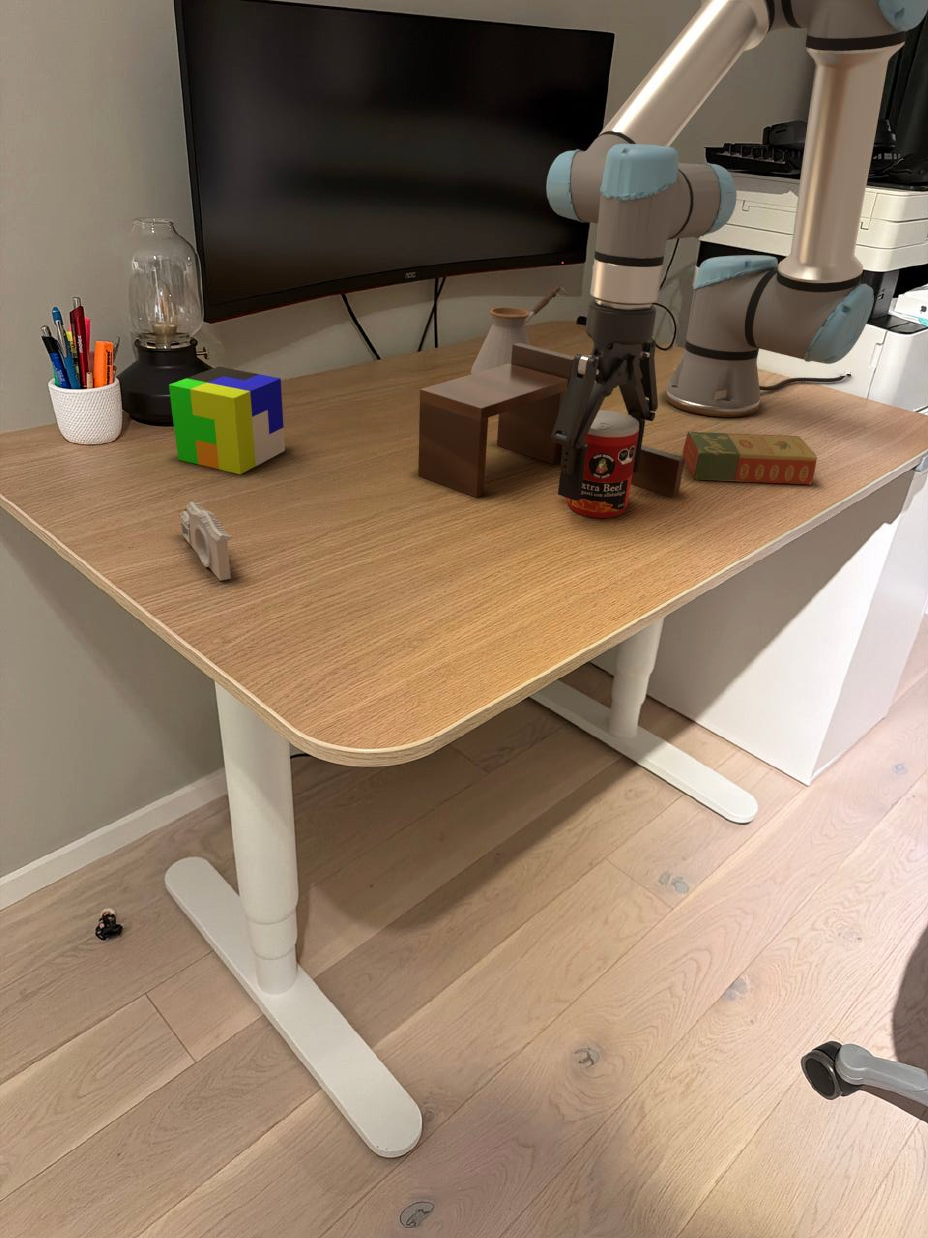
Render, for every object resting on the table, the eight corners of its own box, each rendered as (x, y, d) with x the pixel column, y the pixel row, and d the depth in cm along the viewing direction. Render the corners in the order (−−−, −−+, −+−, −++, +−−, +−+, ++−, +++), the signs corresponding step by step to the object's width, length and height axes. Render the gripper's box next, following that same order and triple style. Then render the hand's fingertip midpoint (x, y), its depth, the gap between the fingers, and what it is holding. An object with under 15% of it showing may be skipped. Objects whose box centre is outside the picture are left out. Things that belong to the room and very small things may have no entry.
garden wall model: (180, 537, 101) (174, 488, 98) (196, 534, 102) (190, 485, 99) (218, 584, 92) (213, 531, 89) (235, 579, 93) (230, 527, 90)
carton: (811, 486, 122) (819, 456, 120) (692, 480, 122) (697, 450, 120) (793, 463, 129) (800, 434, 127) (681, 457, 129) (686, 428, 127)
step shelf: (511, 439, 133) (518, 342, 125) (678, 494, 118) (697, 387, 111) (417, 475, 119) (420, 368, 112) (593, 542, 104) (608, 424, 97)
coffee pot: (512, 405, 146) (519, 309, 139) (456, 389, 152) (460, 296, 144) (581, 378, 161) (590, 290, 153) (527, 365, 167) (534, 279, 159)
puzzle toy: (285, 450, 125) (280, 378, 120) (240, 474, 117) (233, 398, 112) (225, 437, 128) (218, 366, 123) (178, 459, 120) (168, 384, 115)
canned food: (563, 515, 111) (573, 428, 105) (567, 490, 117) (576, 407, 112) (626, 522, 110) (639, 434, 104) (627, 496, 116) (639, 412, 111)
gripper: (650, 282, 111) (625, 450, 122) (529, 310, 95) (514, 501, 106) (705, 293, 107) (675, 465, 118) (589, 324, 91) (567, 520, 102)
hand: (599, 482), depth 112 cm, fingers open, 12 cm apart
